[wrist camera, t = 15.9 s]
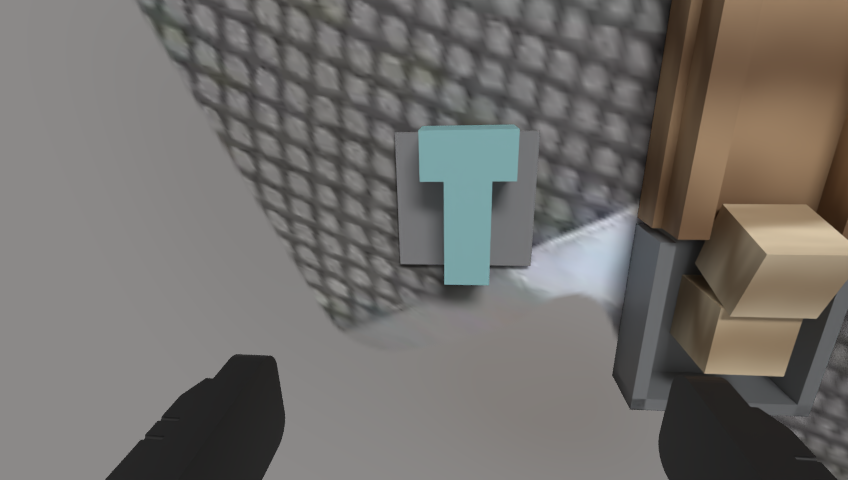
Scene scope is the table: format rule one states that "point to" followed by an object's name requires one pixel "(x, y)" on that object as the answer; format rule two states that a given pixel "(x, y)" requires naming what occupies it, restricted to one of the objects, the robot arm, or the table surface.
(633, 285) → the tray
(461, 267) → the teal t-shaped block
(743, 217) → the tan wooden cube
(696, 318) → the tan block
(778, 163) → the slot board
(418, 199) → the mat
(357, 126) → the table surface
